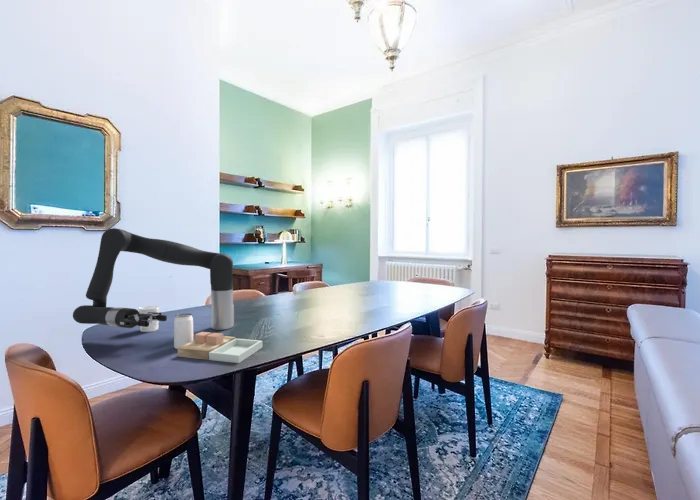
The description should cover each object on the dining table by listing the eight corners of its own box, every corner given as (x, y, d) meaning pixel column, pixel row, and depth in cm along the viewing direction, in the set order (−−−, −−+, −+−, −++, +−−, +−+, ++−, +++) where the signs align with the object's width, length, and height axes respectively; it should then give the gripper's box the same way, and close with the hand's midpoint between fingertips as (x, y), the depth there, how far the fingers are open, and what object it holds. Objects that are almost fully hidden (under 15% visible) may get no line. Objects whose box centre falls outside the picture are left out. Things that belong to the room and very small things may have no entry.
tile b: (213, 340, 125) (213, 332, 125) (223, 341, 124) (223, 333, 124) (206, 344, 121) (206, 335, 121) (216, 345, 120) (216, 336, 120)
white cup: (150, 333, 144) (149, 309, 143) (134, 332, 145) (133, 308, 145) (163, 328, 152) (163, 306, 151) (148, 327, 153) (148, 305, 153)
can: (197, 345, 129) (196, 314, 128) (183, 350, 123) (183, 317, 122) (183, 343, 131) (183, 312, 130) (170, 348, 125) (169, 316, 124)
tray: (235, 344, 130) (235, 338, 130) (262, 347, 127) (262, 340, 127) (209, 359, 114) (208, 352, 114) (238, 363, 112) (238, 355, 111)
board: (207, 342, 133) (207, 334, 132) (235, 344, 130) (235, 337, 130) (177, 356, 117) (177, 347, 117) (208, 359, 114) (208, 351, 114)
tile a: (201, 339, 126) (201, 331, 126) (211, 340, 125) (211, 332, 125) (194, 343, 122) (194, 334, 122) (204, 343, 121) (204, 335, 121)
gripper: (105, 311, 126) (141, 315, 122) (138, 304, 140) (171, 307, 136) (105, 331, 126) (142, 335, 122) (138, 322, 140) (171, 325, 136)
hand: (157, 320), depth 129 cm, fingers open, 8 cm apart
